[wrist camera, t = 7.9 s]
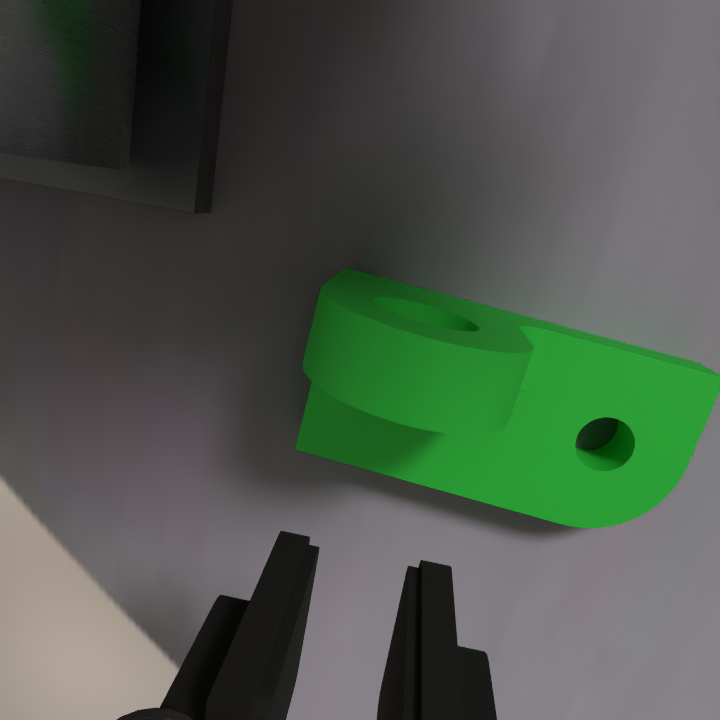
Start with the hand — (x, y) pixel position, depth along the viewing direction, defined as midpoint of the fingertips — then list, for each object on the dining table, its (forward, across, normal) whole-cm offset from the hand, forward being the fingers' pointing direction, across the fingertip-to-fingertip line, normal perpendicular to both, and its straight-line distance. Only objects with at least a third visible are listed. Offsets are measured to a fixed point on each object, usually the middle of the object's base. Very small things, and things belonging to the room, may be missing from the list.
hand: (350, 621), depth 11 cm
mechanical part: (+11, -4, -1) cm, 12 cm away
